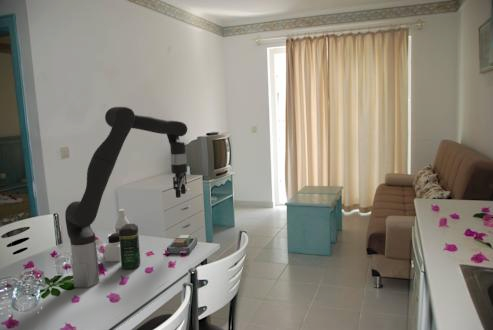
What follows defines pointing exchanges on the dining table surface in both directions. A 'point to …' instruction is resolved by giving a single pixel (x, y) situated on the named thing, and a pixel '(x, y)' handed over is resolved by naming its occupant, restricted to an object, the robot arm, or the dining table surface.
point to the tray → (177, 250)
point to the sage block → (186, 239)
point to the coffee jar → (129, 246)
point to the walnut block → (180, 243)
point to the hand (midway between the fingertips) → (180, 195)
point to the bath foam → (121, 220)
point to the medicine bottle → (113, 248)
